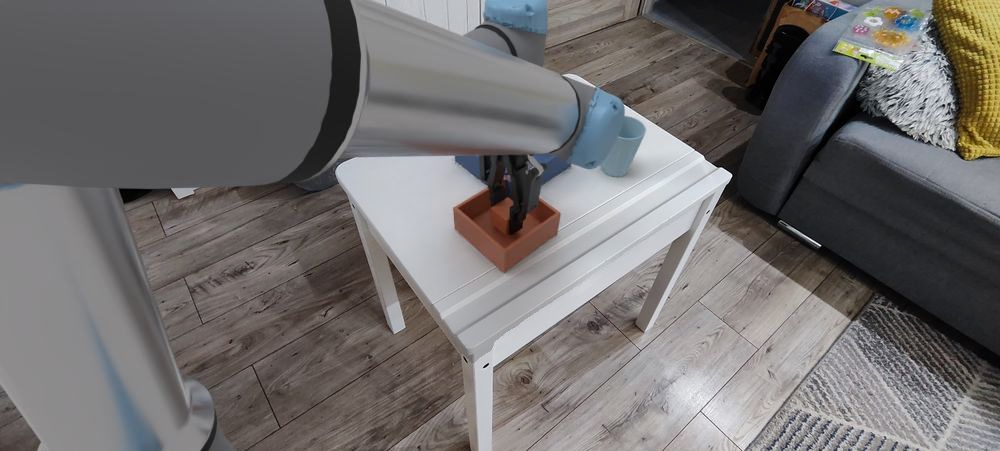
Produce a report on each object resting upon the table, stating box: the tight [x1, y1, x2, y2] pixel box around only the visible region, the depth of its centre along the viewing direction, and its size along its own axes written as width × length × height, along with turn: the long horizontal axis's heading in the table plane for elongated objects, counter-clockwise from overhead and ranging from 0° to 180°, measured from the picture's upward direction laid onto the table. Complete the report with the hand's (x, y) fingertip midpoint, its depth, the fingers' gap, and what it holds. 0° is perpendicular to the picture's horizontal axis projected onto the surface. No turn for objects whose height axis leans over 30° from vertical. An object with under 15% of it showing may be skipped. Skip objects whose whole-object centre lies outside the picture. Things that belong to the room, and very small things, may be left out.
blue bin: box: [454, 154, 572, 201], centre depth 93 cm, size 17×17×6 cm
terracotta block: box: [491, 197, 513, 235], centre depth 80 cm, size 4×4×4 cm
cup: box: [600, 115, 647, 178], centre depth 91 cm, size 8×8×10 cm
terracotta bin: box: [452, 175, 562, 274], centre depth 80 cm, size 13×13×6 cm
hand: (506, 223), depth 81 cm, fingers closed on terracotta block, 4 cm apart
